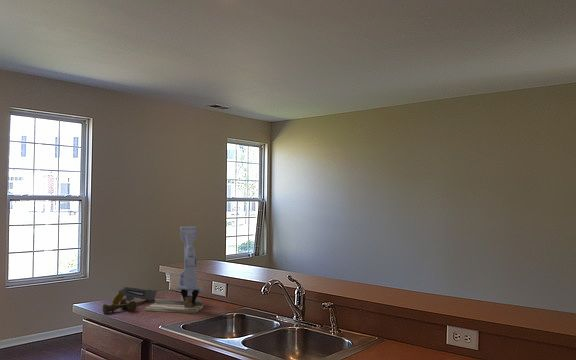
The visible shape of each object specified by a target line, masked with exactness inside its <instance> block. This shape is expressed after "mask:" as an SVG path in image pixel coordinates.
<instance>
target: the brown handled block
mask: <svg viewBox="0 0 576 360" xmlns="http://www.w3.org/2000/svg"><path fill="white" fill-rule="evenodd" d="M183 303H184V307H185V308H186V307H190V308H192V307H193V306H195V304H192V295H188V296H186V297H185V302H183Z"/></svg>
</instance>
